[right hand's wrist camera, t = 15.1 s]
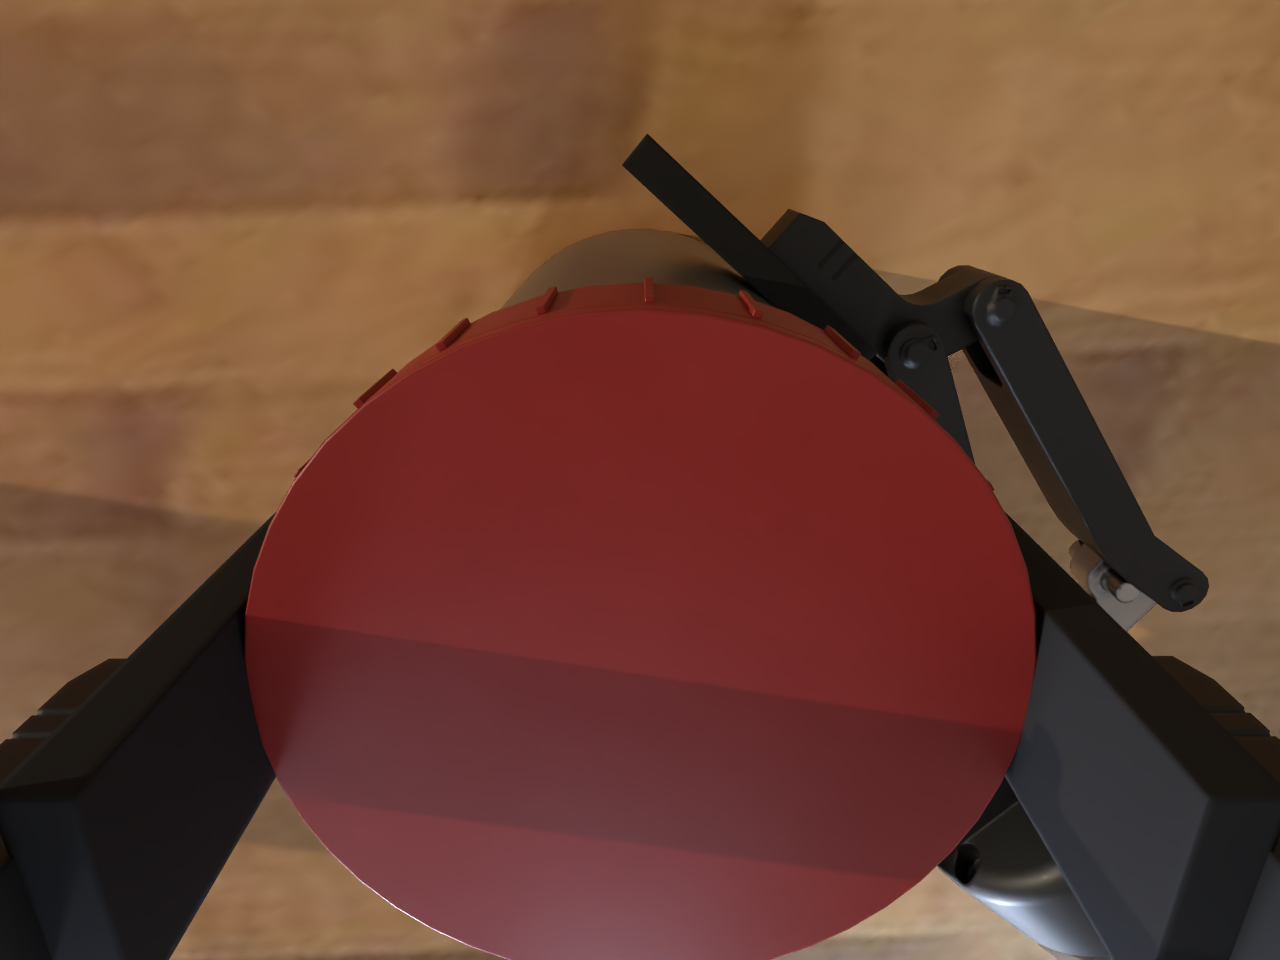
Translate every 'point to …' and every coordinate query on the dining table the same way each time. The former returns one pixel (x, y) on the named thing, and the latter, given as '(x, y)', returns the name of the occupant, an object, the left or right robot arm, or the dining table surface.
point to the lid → (640, 632)
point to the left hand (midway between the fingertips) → (490, 328)
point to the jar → (635, 265)
